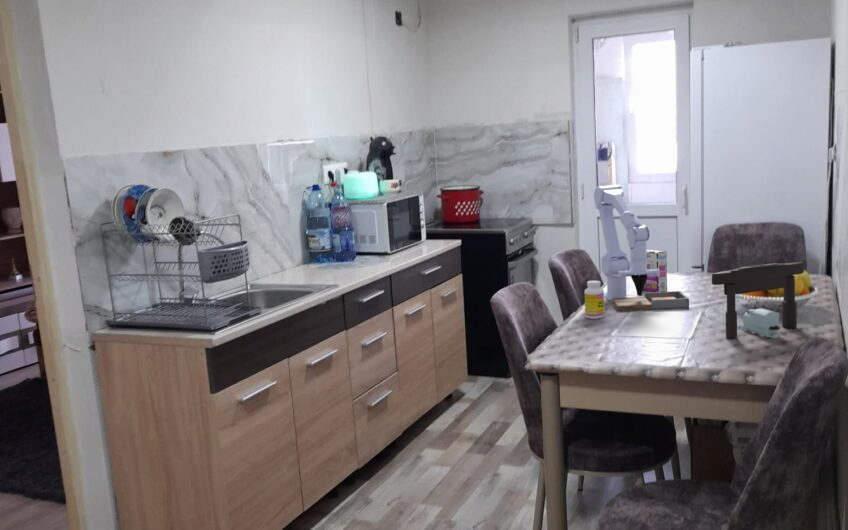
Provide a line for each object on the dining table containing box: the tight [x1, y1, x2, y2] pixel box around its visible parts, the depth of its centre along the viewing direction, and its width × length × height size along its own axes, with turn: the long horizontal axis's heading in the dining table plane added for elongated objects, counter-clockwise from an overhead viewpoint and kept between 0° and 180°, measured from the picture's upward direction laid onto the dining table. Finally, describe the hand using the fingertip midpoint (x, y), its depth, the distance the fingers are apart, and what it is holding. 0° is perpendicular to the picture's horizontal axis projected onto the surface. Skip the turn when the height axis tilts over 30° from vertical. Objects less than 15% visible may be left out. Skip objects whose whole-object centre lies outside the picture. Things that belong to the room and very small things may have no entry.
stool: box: [711, 261, 805, 340], centre depth 237 cm, size 16×21×33 cm
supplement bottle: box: [584, 280, 605, 320], centre depth 272 cm, size 7×7×13 cm
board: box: [611, 296, 653, 312], centre depth 285 cm, size 14×12×2 cm
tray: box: [644, 290, 690, 311], centre depth 284 cm, size 14×13×4 cm
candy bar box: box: [643, 248, 668, 293], centre depth 309 cm, size 11×5×16 cm, turn 25°
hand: (639, 295), depth 284 cm, fingers closed
